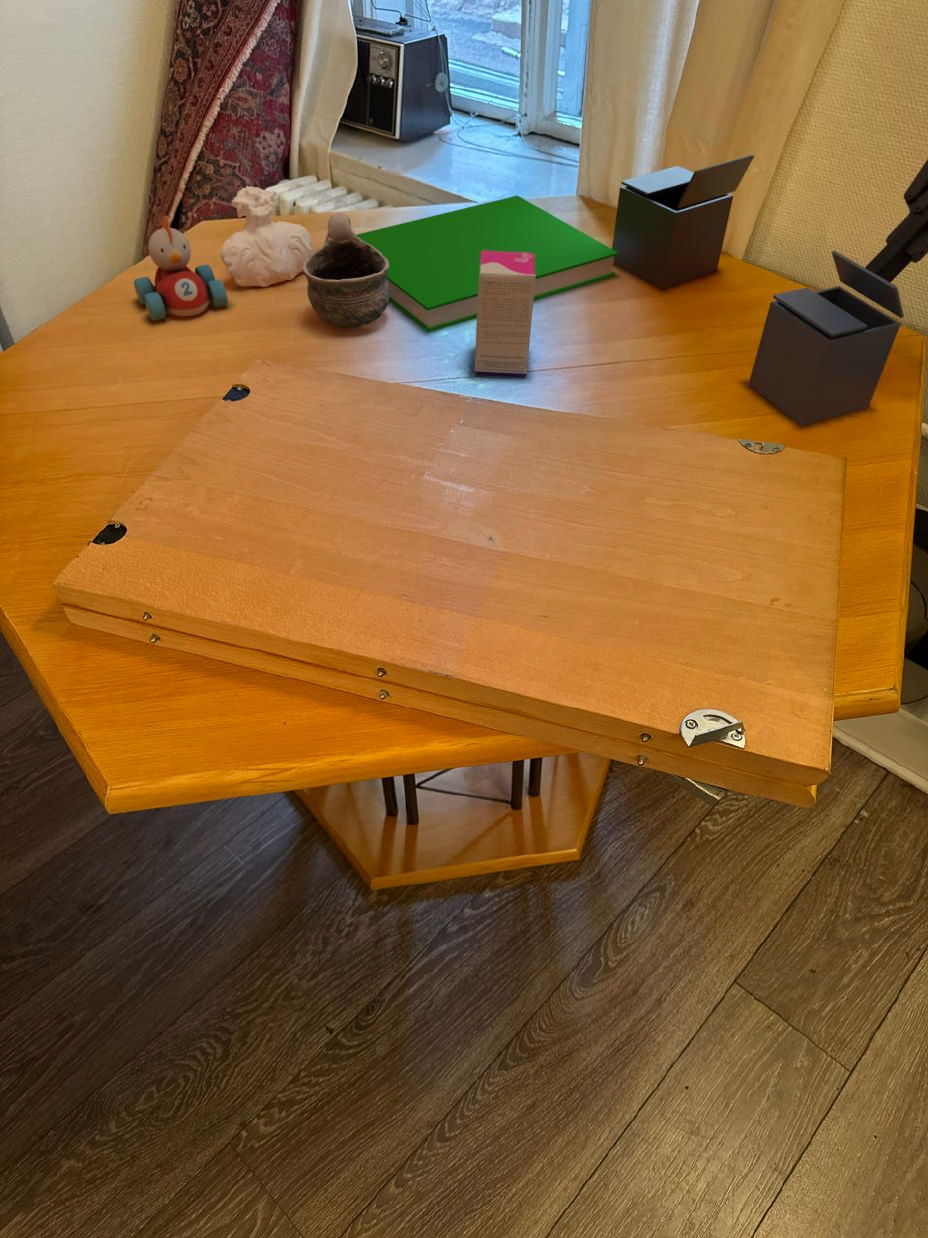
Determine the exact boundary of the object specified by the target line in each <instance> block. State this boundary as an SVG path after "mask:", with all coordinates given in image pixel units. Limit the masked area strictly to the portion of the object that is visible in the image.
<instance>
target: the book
mask: <svg viewBox="0 0 928 1238" xmlns="http://www.w3.org/2000/svg"><path fill="white" fill-rule="evenodd" d="M355 235H356V236H357V237H358V238H360V239H361V240H362V241H364V242H366V243H368V244H370V245H371V246H373V247H374V248H376V249H377V250H378V251H379V252H380V253H381V254H382V255H383V256H384V257H385V258H386V259H387V260H388V262H389V268H388V272H387V276H386V280H387V283H388V287H389V301H388V303H390V304H391V305H393V306H394V307H395V308H396V309H398V310H399V311H400V312H401V313H403V314H404V315H405V316H407V317H408V318H409V320H412V321H413V322H414V323H415V324H417V326H419V327H420V328H422V329H423V330H424V331H425V332H427V333H431V332H434V331H438V330H441V329H444V328H447V327H450V326H455V325H457V324H462V323H464V322H467V321H471V320H474V319H477V307H478V290H479V271H480V255H481V251H483V250H484V251H499V252H521V253H534V256H535V286H534V298H533V302H534V301H536V300H540V299H544V298H547V297H551V296H554V295H557V294H560V293H564V292H567V291H569V290H573V289H576V288H579V287H584V286H586V285H590V284H594V283H597V282H600V281H603V280H606V279H609V278H613V277H615V276H616V272H614V271H613V269H614V263H613V262H614V256H617V255H618V252H616V251H615V250H613V249H612V247H609V246H608V245H606V244H604V243H602V242H601V241H599V240H597V239H595V238H593V237H592V236H590V235H589V234H586V233H585V232H583V231H581V230H580V229H577V227H574V226H572V225H571V224H569V223H567V222H566V221H563V220H562V219H560V218H559V217H556V216H555V215H553V214H551V213H550V212H548V211H546V210H544V209H542V208H540V207H539V206H538V205H535V204H533V203H531V202H530V201H528V200H527V199H525V198H523V197H521V196H520V195H514V196H509V197H506V198H501V199H497V200H494V201H493V200H492V201H489V202H484V203H479V204H476V205H471V206H469V207H464V208H460V209H455V210H452V211H447V212H444V213H440V214H436V215H431V216H428V217H427V216H426V217H423V218H419V219H415V220H410V221H407V222H403V223H398V224H395V225H390V226H386V227H381V228H378V229H374V230H369V231H365V232H362V233H361V232H360V233H357V234H355Z"/></svg>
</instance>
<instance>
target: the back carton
mask: <svg viewBox="0 0 928 1238" xmlns="http://www.w3.org/2000/svg"><path fill="white" fill-rule="evenodd" d="M694 172H695V171H691V170H689V169H687V168H684V167H681V166H679V165H676V166H672V167H669V168H664V169H661V170H657V171H654V172H650V173H646V174H641V175H640V176H636V177H632V178H628V179H625V180H621V183H620V185H623V186H620V187H619V191H618V200H617V208H616V214H615V223H614V230H613V236H612V237H613V238H612V245H611V249H613V250H615V251H616V252H618V255H617V256H614V262H613V265H616V266H617V267H619V268H621V269H623V270H625V271H627V272H629V273H630V274H632V275H634V276H636V277H638V278H640V279H641V280H643V281H645V282H647V283H649V284H651V285H653V286H655V287H656V288H659V289H660V290H662V291H664V290H667V289H670V288H672V287H674V286H677V285H680V284H683V283H686V282H689V281H692V280H695V279H698V278H700V277H703V276H706V275H708V274H712V273H714V272H717V271H718V269H719V268H718V267H719V263H720V260H721V254H722V249H723V245H724V240H725V236H726V232H727V227H728V224H729V223H728V222H729V219H730V213H731V210H732V204H733V200H734V195H733V194H731V193H727V194H724V195H721V196H718V197H714V198H711V199H708V200H704V201H701V202H698V203H695V204H691V205H688V206H685V207H681V208H678V207H677V206H678V204H679V202H680V200H681V198H682V196H683V194H684V192H685V190H686V188H687V186H688V184H689V182H690V180H691V178H692V176H693V174H694Z"/></svg>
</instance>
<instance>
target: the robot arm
mask: <svg viewBox="0 0 928 1238" xmlns="http://www.w3.org/2000/svg"><path fill="white" fill-rule="evenodd" d="M903 200H904V202H905V204H906V206H907V208H908V211H909V212H908V214H907V215H906V216H905V218H904V219H903V220H901V222H899V224H897V226H896V227H895V228H894V229H893V231H891V232H890V233H889V234H888V235H887V237H886V239H885V243H886V245H884V246H883V248H882V249H881V250H879V252H878V253H877V254H876V255H875V256H874V257H873V258H872V259H871V261H870V262H868V264H867V265H865V266H864V268H865V269H867V270H869V271H871V272H872V273H874V274H876V275H878V276H879V277H881V278H883V279H885V280H886V281H888V282H890V283H891V284H892V282H893V281H894V280H895V279H896V278H897V277H898V275H900V274H901V273H902V272H903V271H904V270H905V268H907V267H908V266H909V265H910V263H913V264H916V263H918V262H920V261H922V259H923V258H924V257H925V256H926V255H928V158H927V159H926V161H925V162H924V163H923V165H922V167H921V168H920V170H919V171H918V172H917V174H916V176H915V177H914V179H913V180H912V181H911V183H910V184H909V186H908V188H907V189H906V191H905V192H904V194H903Z"/></svg>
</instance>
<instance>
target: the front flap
mask: <svg viewBox="0 0 928 1238" xmlns="http://www.w3.org/2000/svg"><path fill="white" fill-rule="evenodd" d="M831 256H832V259H833V262H834V266H835V269H836V271H837V272H836V273H837V275H838V279H839V282H841V283H842V284H844V285H846V286H847V287H848V288H851V289H852V290H854V291H855V292H857V293H858V294H860V295H862V296H864V297H865V298H867V299H868V300H870V301H872V302H874V304H877V305H878V306H880V307H882V308H883V309H885V310H887V311H888V312H890V313H892V314H893V315H894V316H896V317H898V318H900V319H903V318H904V317H905V316H904V310H903V306H902V302H901V298H900V293H899V288H898V286H897V285H895V284H893V283H892V282H891V283H890V282H888V281H886V280H885V279H883V278H881V277H879V276H878V275H876V274H874V273H872V272H871V271H869V270H867V269H865V266H862V265H860V264H858V263H856V262H855V261H853V260H852V259H850V258H849V257H846V256H845V255H843V254H841V253H840V252H838V251H836V250H832V251H831Z"/></svg>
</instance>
